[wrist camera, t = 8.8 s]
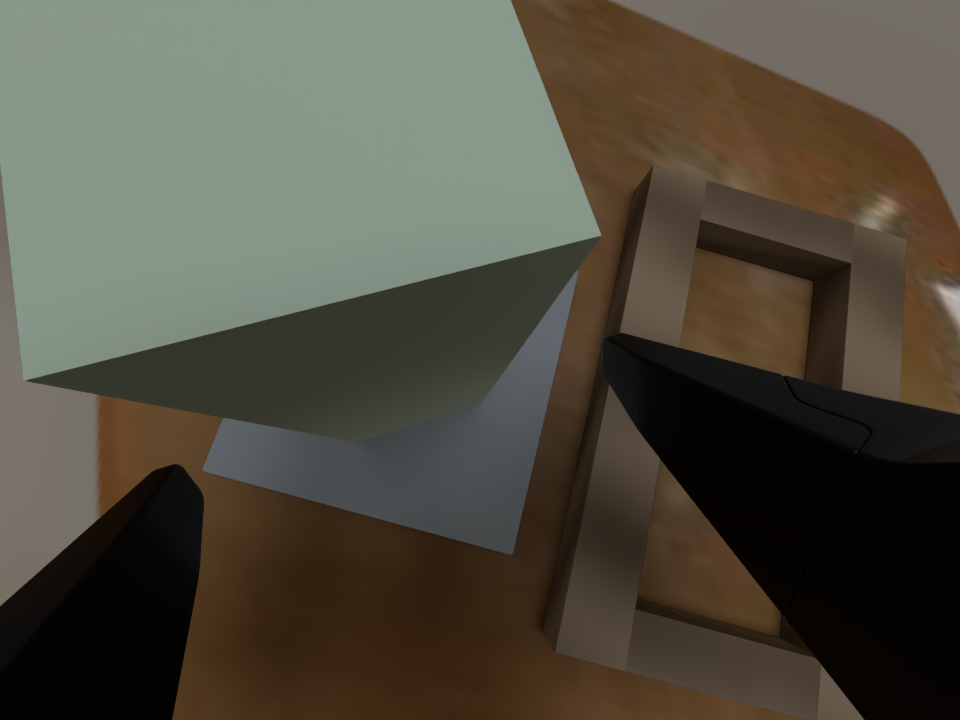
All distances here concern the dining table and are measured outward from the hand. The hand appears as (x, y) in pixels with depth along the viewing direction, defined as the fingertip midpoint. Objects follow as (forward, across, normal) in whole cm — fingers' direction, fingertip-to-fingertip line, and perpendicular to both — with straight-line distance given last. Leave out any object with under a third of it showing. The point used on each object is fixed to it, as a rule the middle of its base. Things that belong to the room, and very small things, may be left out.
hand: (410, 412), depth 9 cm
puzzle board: (+4, -13, +9) cm, 16 cm away
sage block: (+8, 0, +4) cm, 9 cm away
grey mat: (+9, 0, +4) cm, 10 cm away
